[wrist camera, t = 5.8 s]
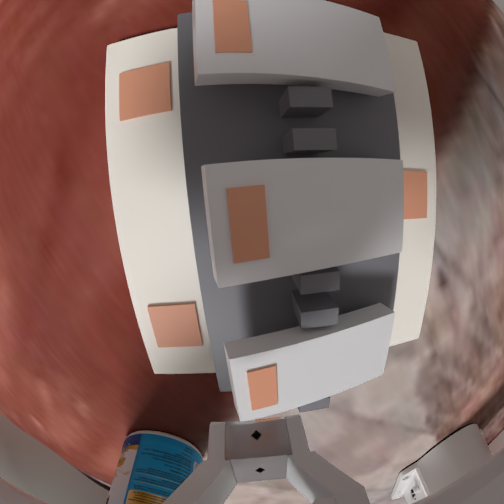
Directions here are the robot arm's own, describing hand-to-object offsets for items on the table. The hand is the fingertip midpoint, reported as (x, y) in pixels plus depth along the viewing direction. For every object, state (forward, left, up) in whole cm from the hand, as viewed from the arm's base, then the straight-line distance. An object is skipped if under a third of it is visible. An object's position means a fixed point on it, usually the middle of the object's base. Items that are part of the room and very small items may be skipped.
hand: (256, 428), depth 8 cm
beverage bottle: (-17, +10, -10) cm, 22 cm away
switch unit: (+6, -3, -10) cm, 12 cm away
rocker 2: (+6, -3, -4) cm, 8 cm away
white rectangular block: (-1, -3, -4) cm, 5 cm away
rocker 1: (+13, -3, -4) cm, 14 cm away
